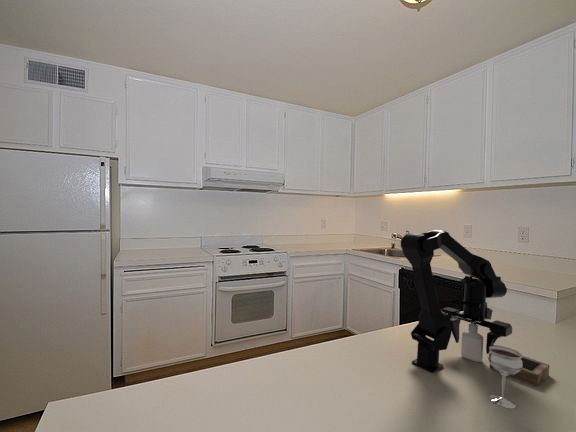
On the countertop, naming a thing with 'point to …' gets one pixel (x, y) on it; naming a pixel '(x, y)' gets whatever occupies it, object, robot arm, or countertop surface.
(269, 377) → the countertop surface
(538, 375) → the rubber-lined collar
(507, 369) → the wineglass
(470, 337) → the eye dropper bottle
